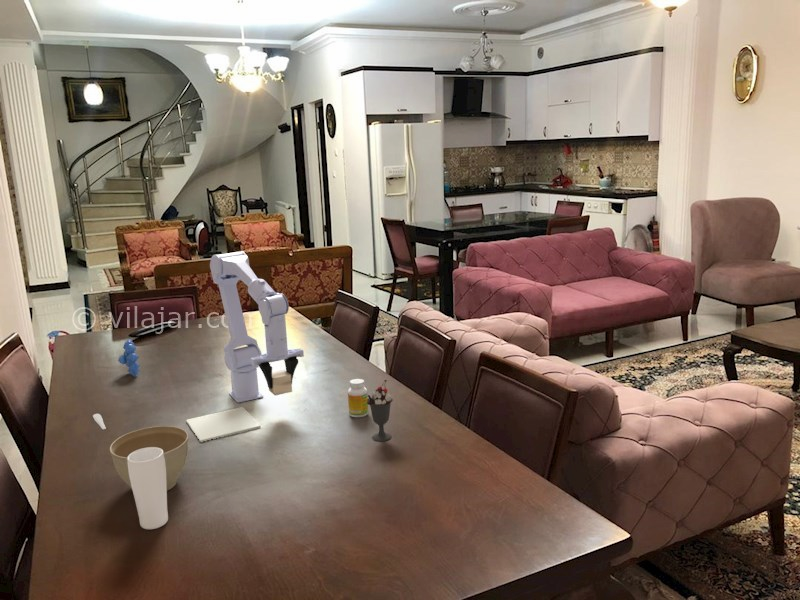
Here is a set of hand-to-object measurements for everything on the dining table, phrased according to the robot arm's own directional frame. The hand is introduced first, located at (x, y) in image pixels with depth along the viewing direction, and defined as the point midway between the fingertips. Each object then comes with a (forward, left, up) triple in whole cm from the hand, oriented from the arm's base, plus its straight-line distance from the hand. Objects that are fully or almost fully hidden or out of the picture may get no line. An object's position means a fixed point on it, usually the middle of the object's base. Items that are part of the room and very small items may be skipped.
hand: (280, 385), depth 178 cm
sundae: (+29, +16, -9) cm, 34 cm away
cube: (0, 0, -2) cm, 2 cm away
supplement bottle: (+12, +18, -9) cm, 23 cm away
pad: (-3, -16, -9) cm, 18 cm away
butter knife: (-19, -44, -9) cm, 49 cm away
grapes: (-64, -31, -9) cm, 72 cm away
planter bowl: (+22, -38, -9) cm, 45 cm away
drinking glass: (+38, -41, -9) cm, 57 cm away
